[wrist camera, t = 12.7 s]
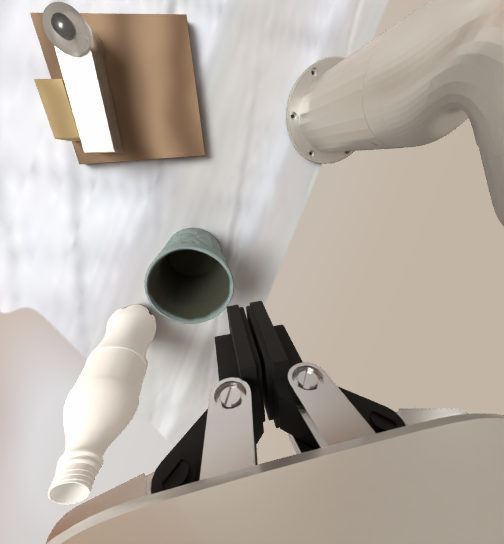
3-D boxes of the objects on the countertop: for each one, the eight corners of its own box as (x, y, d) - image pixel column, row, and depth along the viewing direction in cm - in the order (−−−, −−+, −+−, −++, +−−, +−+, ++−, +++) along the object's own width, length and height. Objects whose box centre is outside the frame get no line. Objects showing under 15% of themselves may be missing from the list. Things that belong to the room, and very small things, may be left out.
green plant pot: (229, 274, 43) (240, 313, 32) (169, 288, 42) (160, 333, 31) (216, 216, 38) (224, 238, 28) (149, 229, 37) (130, 258, 27)
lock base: (186, 21, 29) (184, -11, 24) (204, 155, 35) (206, 154, 29) (38, 20, 27) (-2, -16, 21) (84, 164, 32) (62, 164, 27)
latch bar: (61, 25, 26) (30, -5, 21) (99, 27, 26) (77, -2, 22) (94, 153, 31) (76, 152, 26) (126, 152, 31) (113, 151, 26)
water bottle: (149, 294, 41) (93, 453, 19) (164, 328, 45) (132, 499, 22) (104, 306, 41) (-7, 485, 18) (123, 340, 44) (47, 528, 21)
